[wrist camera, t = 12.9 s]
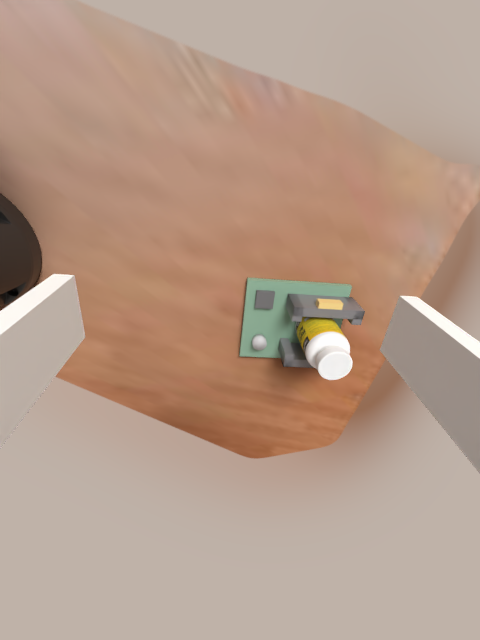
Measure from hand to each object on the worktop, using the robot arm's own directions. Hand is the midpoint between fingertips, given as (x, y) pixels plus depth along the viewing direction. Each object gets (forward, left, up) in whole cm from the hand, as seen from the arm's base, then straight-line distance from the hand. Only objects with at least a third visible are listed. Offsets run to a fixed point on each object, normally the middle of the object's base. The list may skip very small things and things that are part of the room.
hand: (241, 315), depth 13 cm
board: (+10, -14, -27) cm, 32 cm away
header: (+13, -14, -27) cm, 33 cm away
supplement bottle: (+13, -14, -26) cm, 32 cm away
